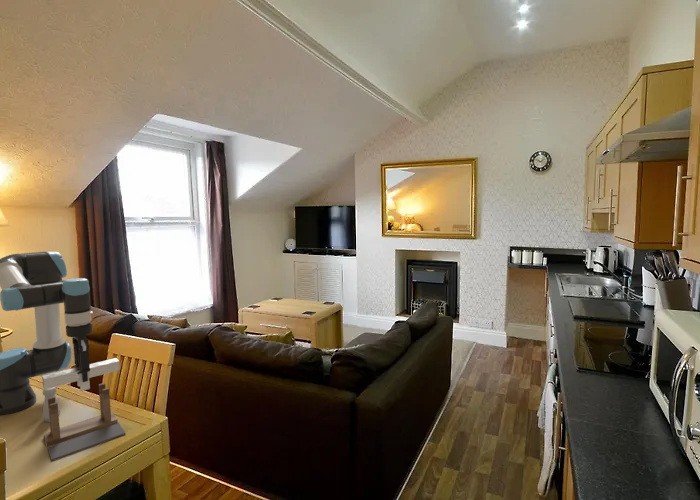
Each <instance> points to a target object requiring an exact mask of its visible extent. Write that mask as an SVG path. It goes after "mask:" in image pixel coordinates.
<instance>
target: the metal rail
mask: <svg viewBox="0 0 700 500" xmlns="http://www.w3.org/2000/svg"><path fill="white" fill-rule="evenodd" d="M120 366H121V365H120V360H119V359H118V358H117V357H114V358H109V359H107V360H102V361H97V362H93V363H90V371H89V379H91V378H93V377H94V378H95V377H98V376H102V375H106V374H109V373H114V372H117V371H120V368H121V367H120ZM77 372H80V368H79V367H76V366H75V367H72V368H66V369H62V370H59V371H57V372H51V373H47V374H43V375H41V377H42V378H41V379H42V380H41V381H42V386H43V390H44V389H48V388H52V387H56V388H57V387H59V386H64V385H67V384H72V383H75V382H77V381H79V380H80V378H79V374H78V373H77Z"/></svg>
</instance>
